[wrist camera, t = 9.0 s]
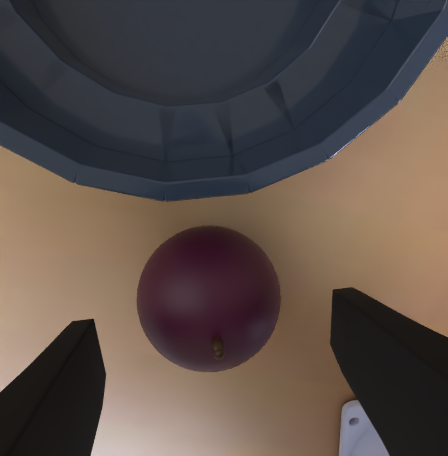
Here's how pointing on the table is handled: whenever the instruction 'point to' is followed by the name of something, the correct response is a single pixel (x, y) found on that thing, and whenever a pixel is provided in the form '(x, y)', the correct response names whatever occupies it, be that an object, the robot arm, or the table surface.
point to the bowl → (202, 86)
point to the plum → (208, 299)
